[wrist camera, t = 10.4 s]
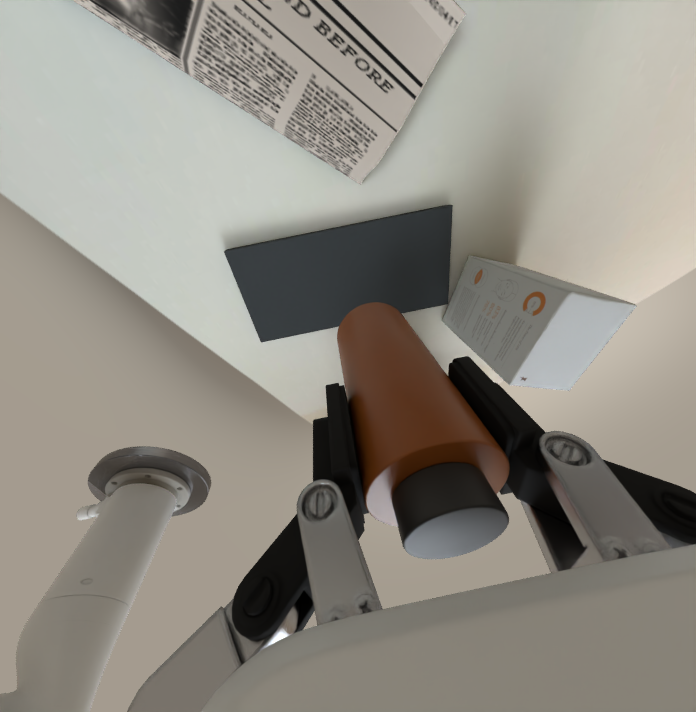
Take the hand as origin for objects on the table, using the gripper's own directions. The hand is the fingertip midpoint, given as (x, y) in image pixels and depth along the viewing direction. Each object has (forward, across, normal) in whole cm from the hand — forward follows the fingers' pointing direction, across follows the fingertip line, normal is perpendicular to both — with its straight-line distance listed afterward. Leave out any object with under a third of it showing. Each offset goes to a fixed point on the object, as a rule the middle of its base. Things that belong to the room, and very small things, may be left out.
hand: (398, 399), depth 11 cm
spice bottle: (+6, 0, 0) cm, 6 cm away
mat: (+20, 0, 0) cm, 20 cm away
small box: (+20, -15, +5) cm, 25 cm away
